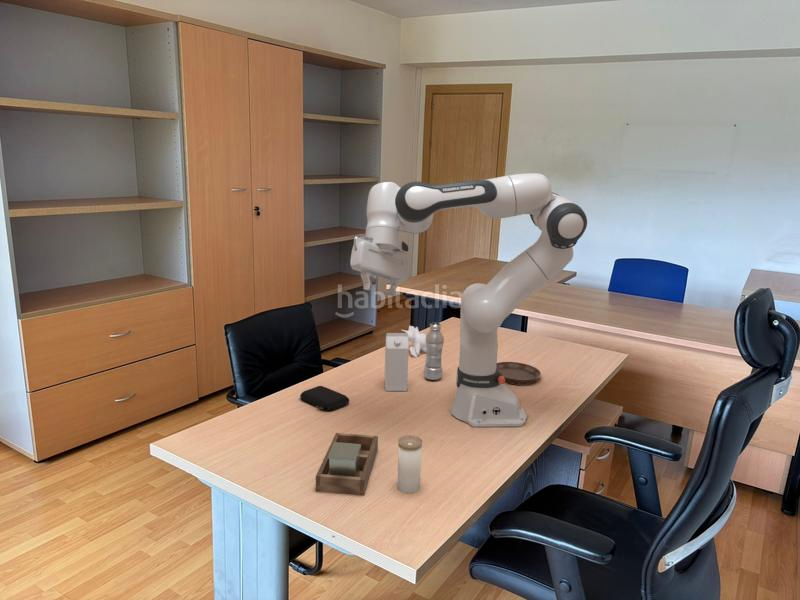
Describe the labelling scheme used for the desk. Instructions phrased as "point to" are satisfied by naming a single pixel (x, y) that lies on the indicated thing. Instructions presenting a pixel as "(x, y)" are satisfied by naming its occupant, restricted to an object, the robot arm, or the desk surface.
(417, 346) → the character figurine
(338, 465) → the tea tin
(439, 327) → the plastic bottle
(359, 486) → the crate
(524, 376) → the plant saucer
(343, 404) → the carrying case or bag
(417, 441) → the lidded white canister
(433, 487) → the desk surface
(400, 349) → the milk carton
